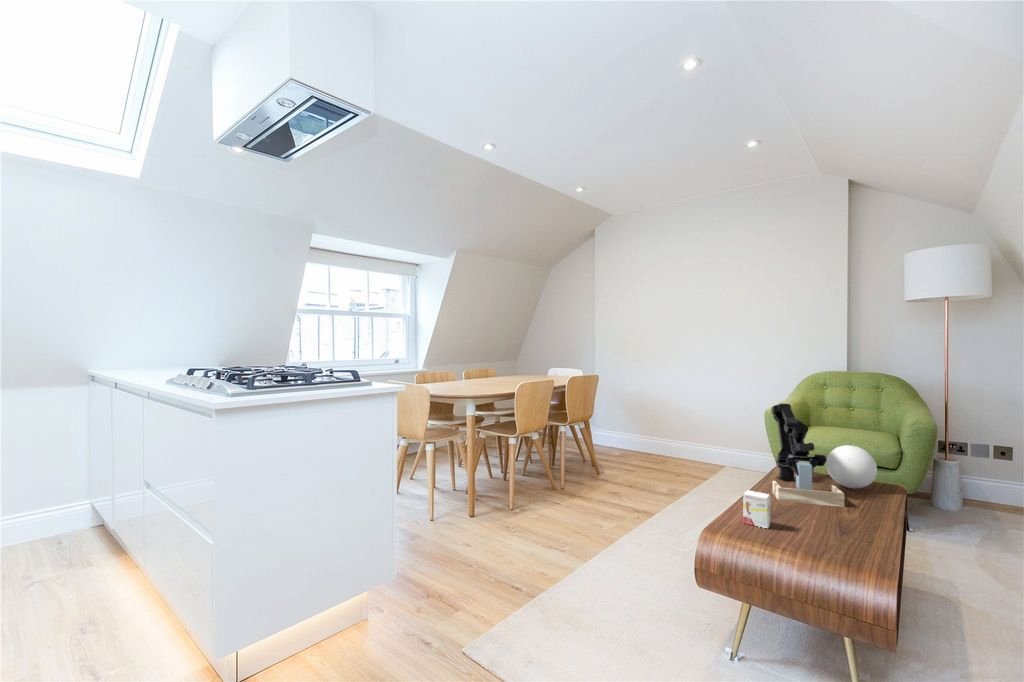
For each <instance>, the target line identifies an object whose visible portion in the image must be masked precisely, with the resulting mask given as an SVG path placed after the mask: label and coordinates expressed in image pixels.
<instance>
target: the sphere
mask: <svg viewBox="0 0 1024 682" xmlns="http://www.w3.org/2000/svg"><path fill="white" fill-rule="evenodd" d="M825 464H826V465H825V466H826V470H827V472H828V474H829V476H830V477H831V478H832V479H833V481H834V482H835V483H837V484H838V485H841V486H842V487H845V488H849V489H862V488H865V487H867V486H869V485H871V484H872V483H873V482H874V481H875V480H876V477H877V474H878V467H877V463H876V460H875V459H874V458H873V456H872V455H871V454H870V453H869V452H868V451H867V450H865V449H864V448H861V447H858V446H856V445H849V444H848V445H847V444H846V445H841V446H837V447H836V448H835V447H834V449H832V450H831V451H830V452H829V454H828V455H827V456H826V462H825Z"/></svg>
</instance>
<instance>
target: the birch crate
mask: <svg viewBox="0 0 1024 682" xmlns="http://www.w3.org/2000/svg"><path fill="white" fill-rule="evenodd" d="M830 486H831V487H830V491H825V490H815V489H812V490H804V489H798V488H790V487H781V486H780V484H779V483H778V482H777V481H776V480H772V494H773V495H774V497H775V498H776V499H777V501H778V502H787V503H798V504H809V505H819V506H829V507H830V506H831V507H843V508H845V493H844V492H843V491H842V490H841V489H839V487H837V486H835V485H832V484H831V485H830Z"/></svg>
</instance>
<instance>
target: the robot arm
mask: <svg viewBox="0 0 1024 682" xmlns="http://www.w3.org/2000/svg"><path fill="white" fill-rule="evenodd" d="M770 412H771V414H772V417H773V419H774V420H775V422H777V423H776V424H777V428H778V437H779V442H780V443H779V444H780V451H779V452H778V453H777V456H776V461H775V464H776V467H777V468H779V476H776V478H777V479H779V480H781V479H782V481H784V482H796V478H795V476H796V475H797V476H798V475H799V473H798V469H797V466H796V462H808V463H809V464H811V465H812V476H814V475H813V474H814V470H815V469H814V468H816V467H824V466H825V464H826V461H827V456H826V455H824V454H818V453H817V454H816V453H815V454H814V455H813V456H809V455H810V452H812V451H815V445H814V442H808V443H805V439H806V437H807V434H808V432H809V427H808V426H807V425H806V424H804V423H803V421H801V420H799V419H796V416H795V413H793V410H792V405H791V404H789V403H779V404H775V405H773V406H772V407H771V411H770Z"/></svg>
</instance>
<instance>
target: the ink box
mask: <svg viewBox="0 0 1024 682" xmlns="http://www.w3.org/2000/svg"><path fill="white" fill-rule="evenodd" d="M742 494H743V495H742V496H743V497H742V498H743V499H742V501H743V504H742V505H743V506H742V509H743V511H742V514H743V518H742V521H743V523H746V524H750V525H749V526H751V525H754V526H753V527H756V526H758V527H757V528H760V527H762V528H761V529H764V528H767V529H766V530H768V529H769V528H770V526H771V494H769V493H765V492H764V493H763V492H760V491H753V490H749V489H748V490H745V491H744V492H743V493H742ZM746 524H745V525H746Z"/></svg>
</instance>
